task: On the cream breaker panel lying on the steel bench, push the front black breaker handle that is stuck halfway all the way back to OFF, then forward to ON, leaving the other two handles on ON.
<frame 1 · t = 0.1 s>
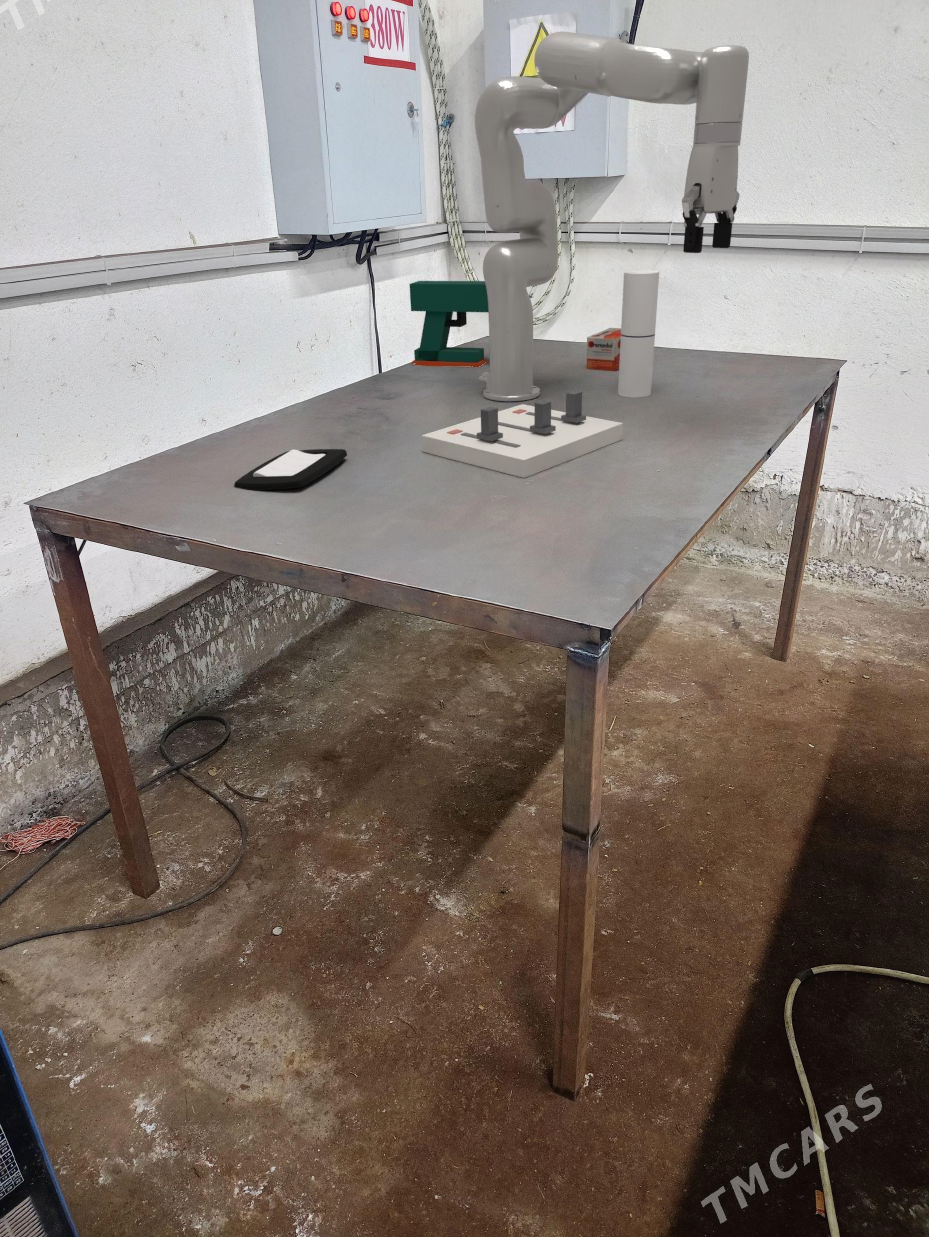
hand: (706, 250, 148), 31 cm above the table, fingers open, 9 cm apart
power tool: (474, 365, 222), on the table
breaker panel: (523, 445, 156), on the table
medicine box: (611, 366, 216), on the table
light switch: (293, 475, 147), on the table
tripped breaker: (489, 423, 147), point 6 cm above the table, slide at 4.5 cm
cylindrical container: (634, 394, 188), on the table
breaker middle: (542, 416, 150), point 6 cm above the table, slide at 9.0 cm
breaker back: (573, 406, 156), point 6 cm above the table, slide at 9.0 cm
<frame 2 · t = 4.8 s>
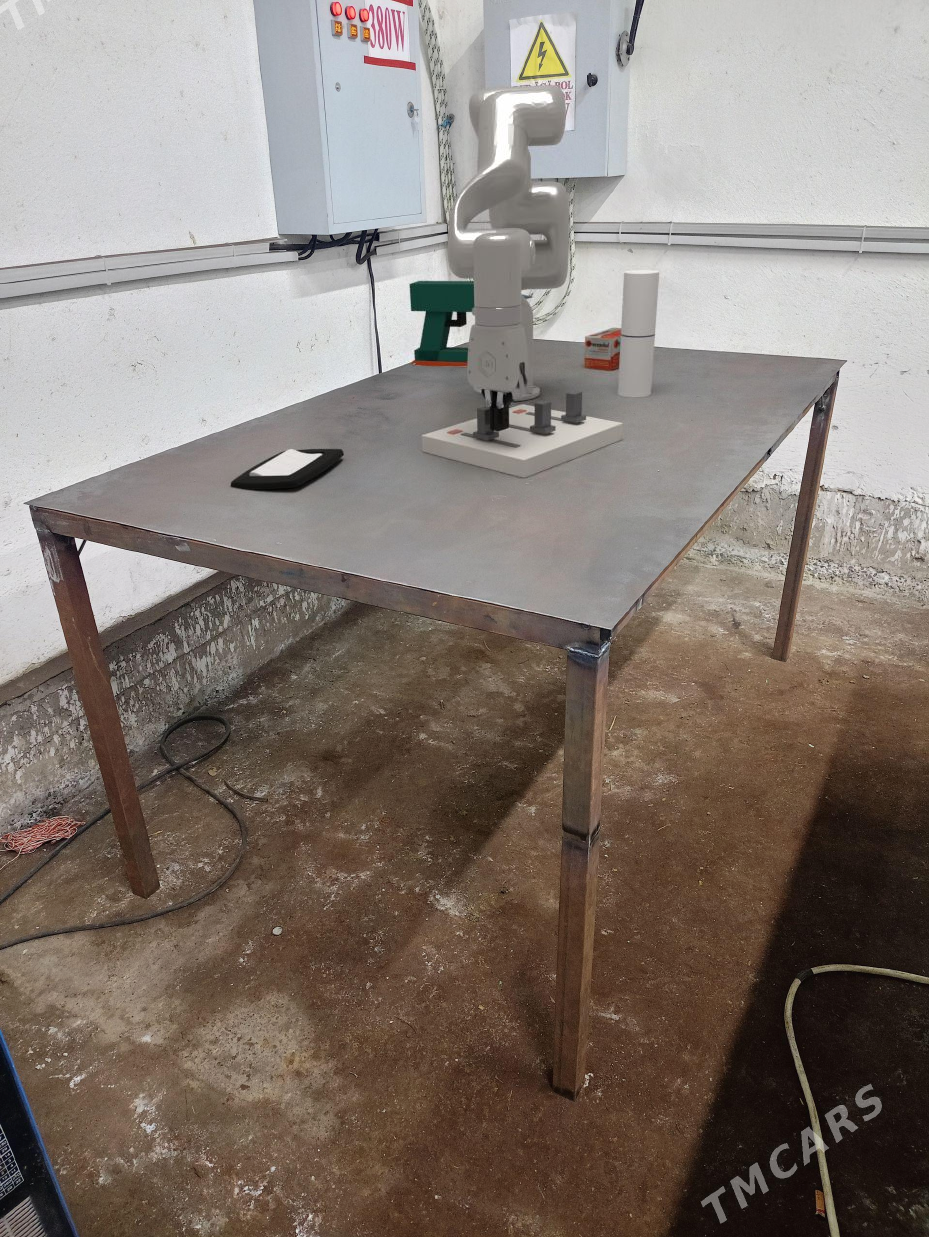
hand: (499, 428, 146), 5 cm above the table, fingers closed
tripped breaker: (485, 422, 148), point 6 cm above the table, slide at 3.6 cm, touching gripper
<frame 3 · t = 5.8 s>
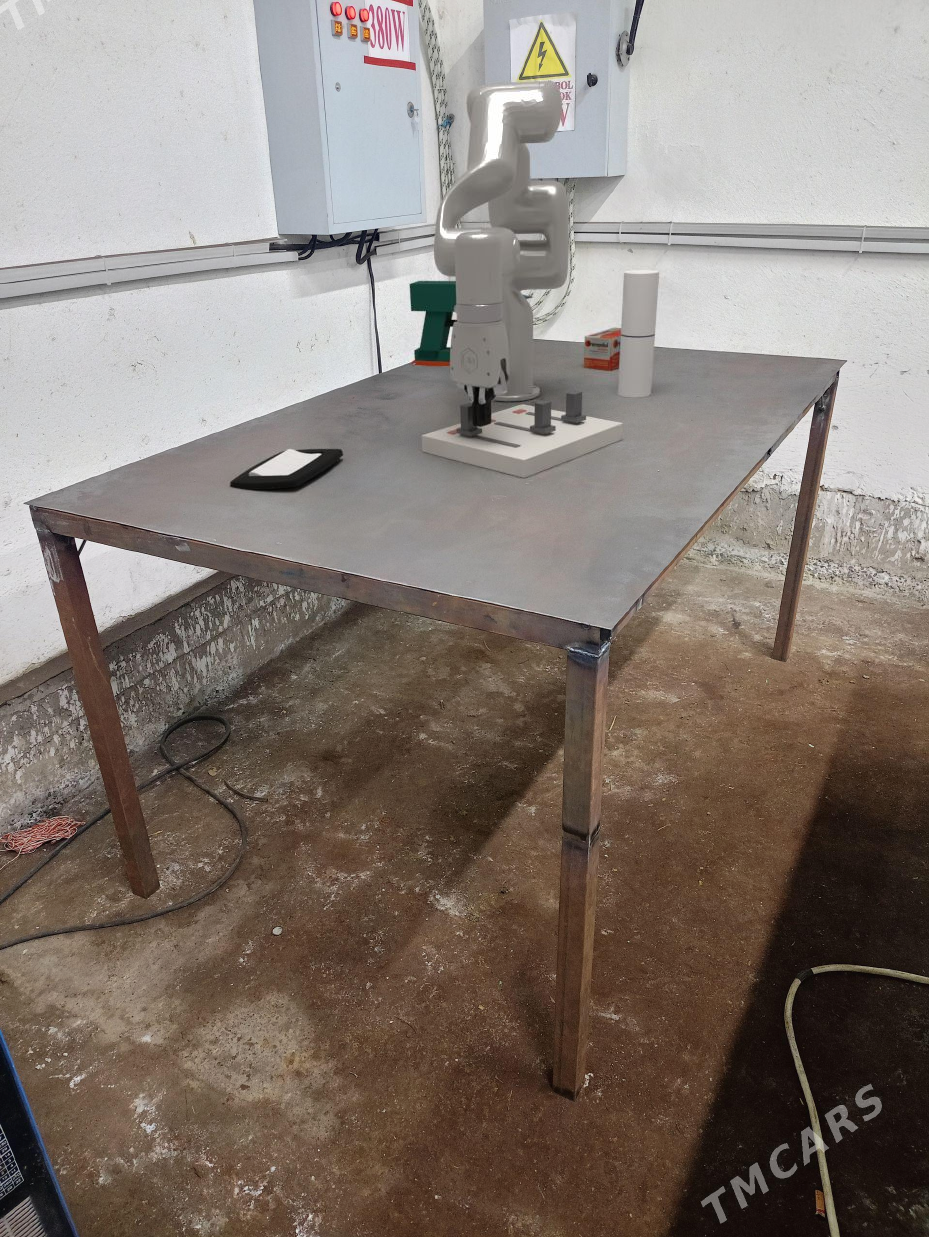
hand: (482, 424, 149), 6 cm above the table, fingers closed
tripped breaker: (468, 419, 150), point 6 cm above the table, slide at -0.4 cm, touching gripper
everything else where it was.
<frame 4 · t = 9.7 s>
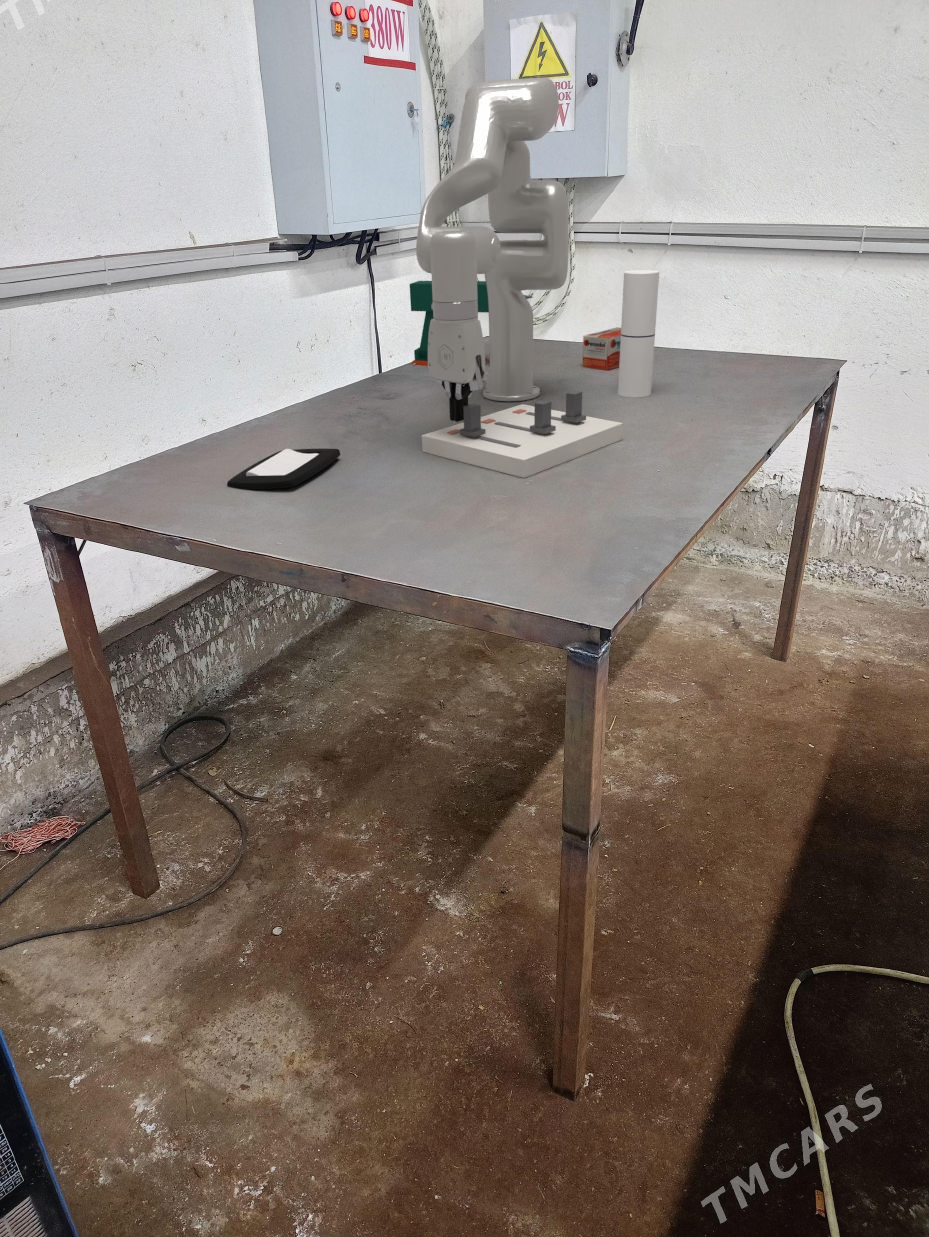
hand: (459, 419, 152), 6 cm above the table, fingers closed
tripped breaker: (472, 419, 150), point 6 cm above the table, slide at 0.4 cm, touching gripper
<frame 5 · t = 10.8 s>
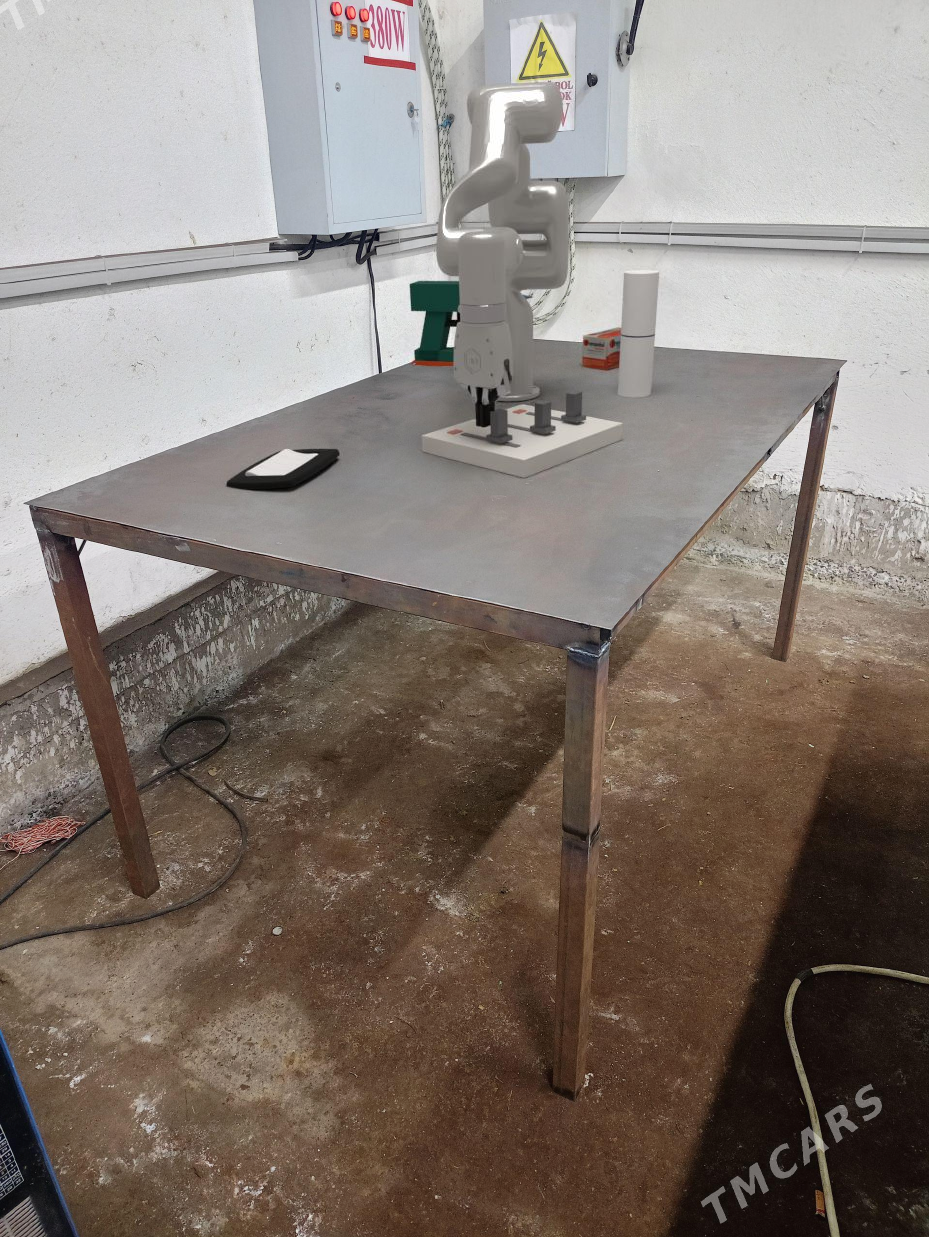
hand: (485, 425, 148), 6 cm above the table, fingers closed
tripped breaker: (499, 425, 146), point 6 cm above the table, slide at 6.7 cm, touching gripper
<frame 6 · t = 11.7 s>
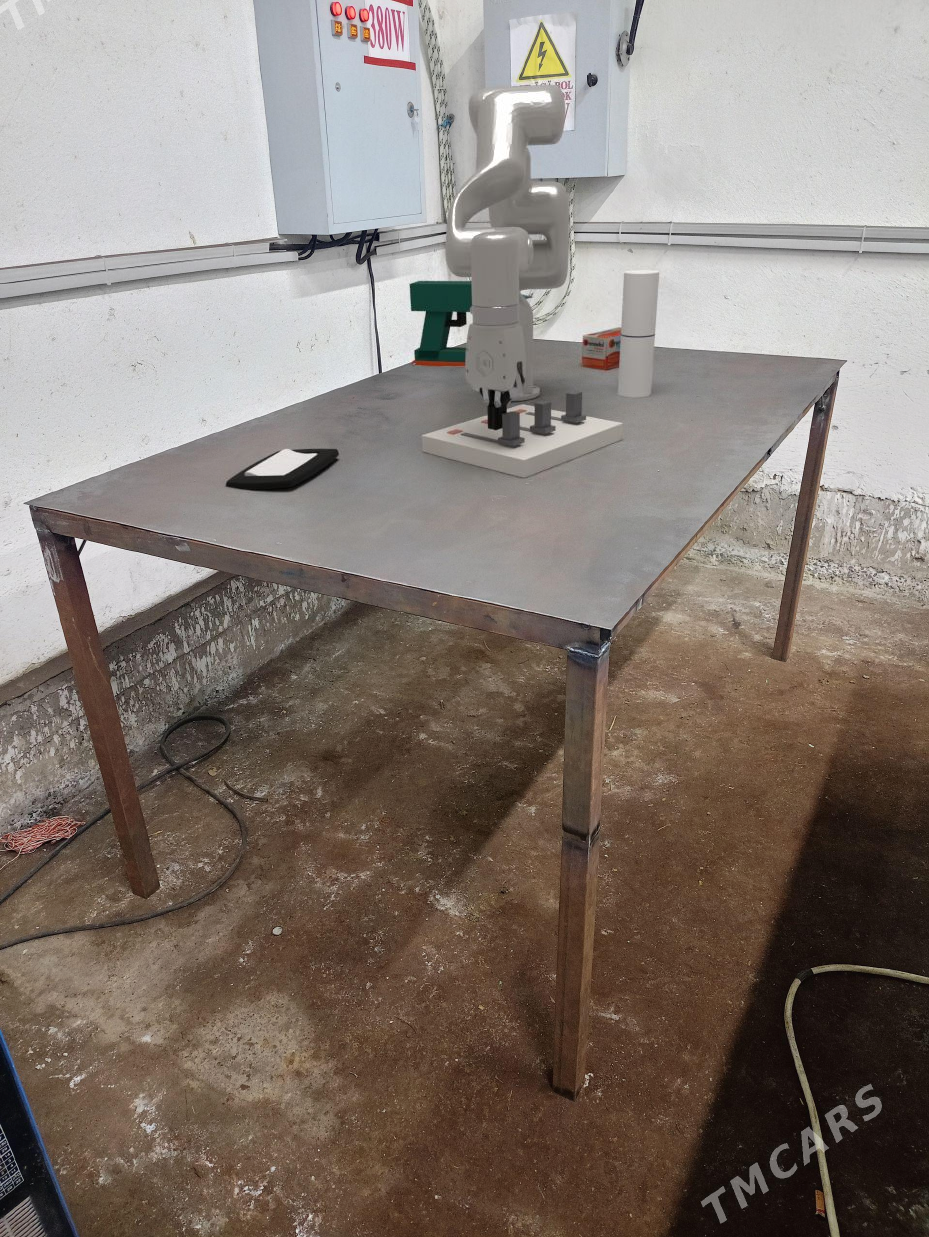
hand: (497, 427, 147), 6 cm above the table, fingers closed
tripped breaker: (511, 428, 144), point 6 cm above the table, slide at 9.4 cm, touching gripper
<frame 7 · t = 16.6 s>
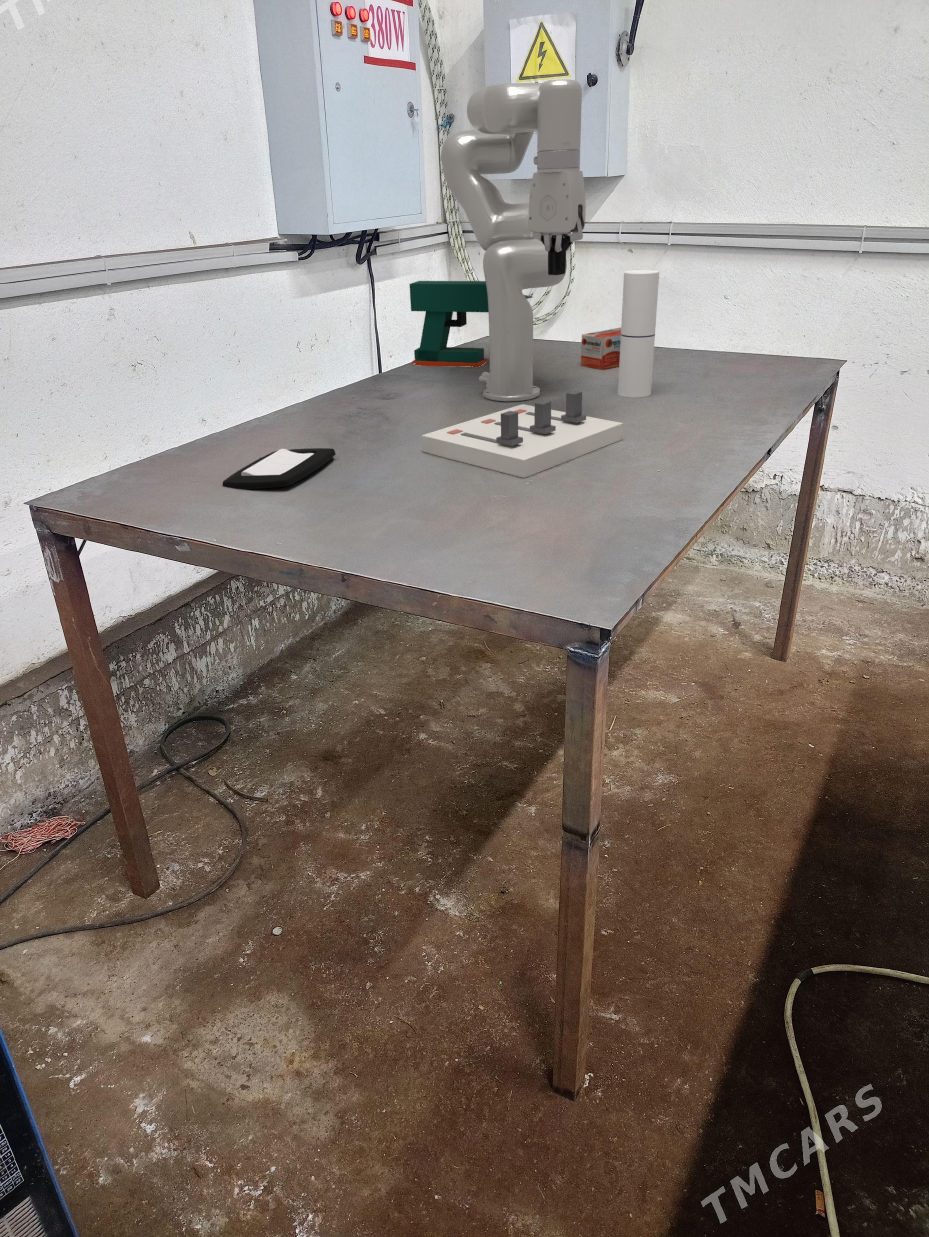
hand: (556, 274, 159), 27 cm above the table, fingers closed
tripped breaker: (509, 427, 145), point 6 cm above the table, slide at 9.1 cm
at the end: tripped breaker slide at 9.1 cm; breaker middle slide at 9.0 cm; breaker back slide at 9.0 cm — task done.
